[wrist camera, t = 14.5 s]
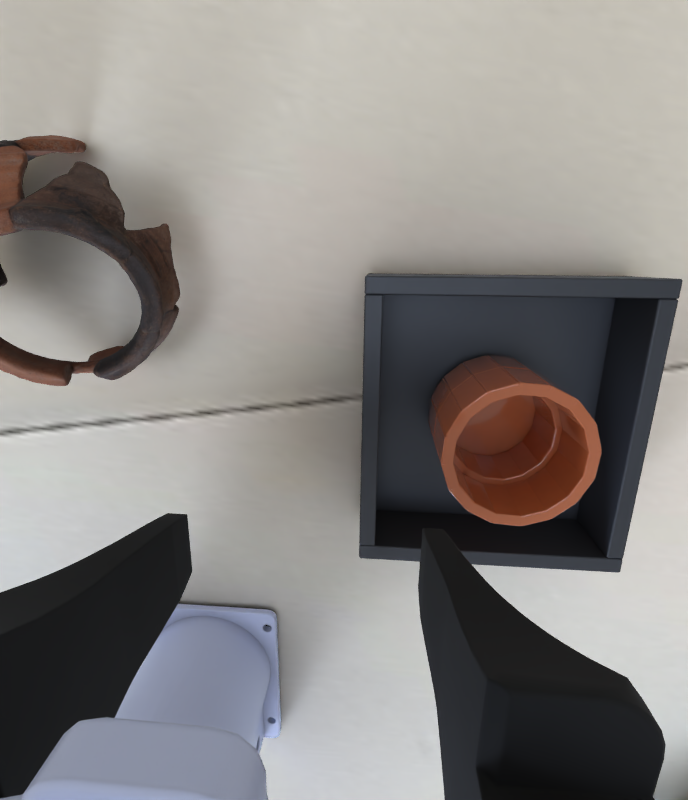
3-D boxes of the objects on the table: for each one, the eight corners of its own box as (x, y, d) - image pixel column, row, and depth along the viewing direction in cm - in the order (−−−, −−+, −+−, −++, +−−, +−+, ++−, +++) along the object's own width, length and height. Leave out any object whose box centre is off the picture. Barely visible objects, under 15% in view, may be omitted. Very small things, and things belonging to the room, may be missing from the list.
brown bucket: (557, 447, 22) (613, 505, 17) (444, 476, 23) (463, 540, 17) (533, 338, 20) (585, 363, 15) (414, 373, 21) (424, 409, 16)
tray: (583, 525, 24) (620, 573, 20) (362, 514, 24) (358, 558, 21) (629, 276, 20) (683, 278, 16) (367, 273, 21) (365, 275, 17)
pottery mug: (142, 101, 20) (123, 144, 14) (209, 294, 26) (216, 380, 20) (-159, 154, 19) (-324, 227, 12) (-11, 344, 25) (-73, 453, 19)
